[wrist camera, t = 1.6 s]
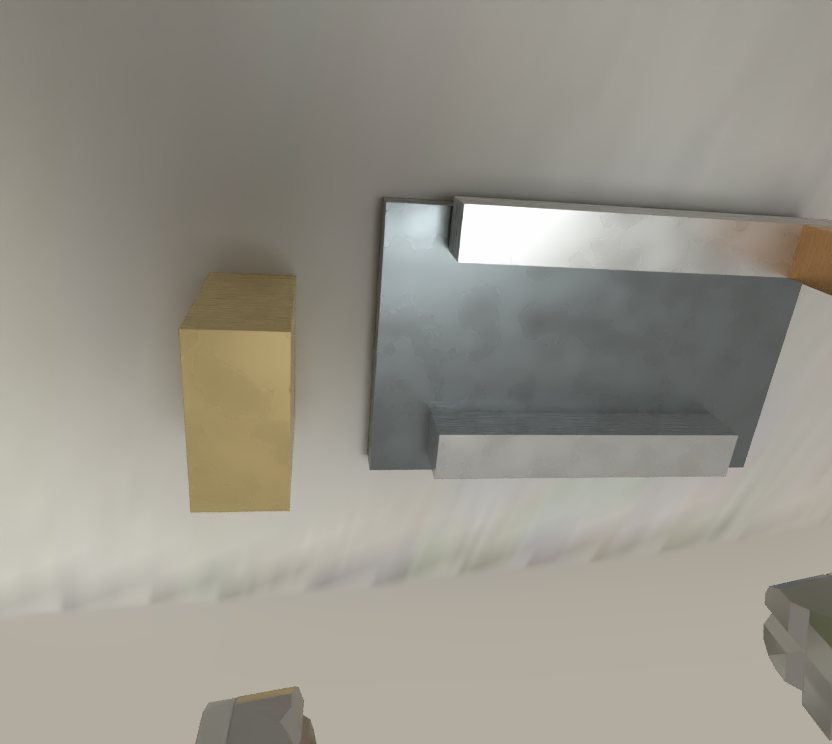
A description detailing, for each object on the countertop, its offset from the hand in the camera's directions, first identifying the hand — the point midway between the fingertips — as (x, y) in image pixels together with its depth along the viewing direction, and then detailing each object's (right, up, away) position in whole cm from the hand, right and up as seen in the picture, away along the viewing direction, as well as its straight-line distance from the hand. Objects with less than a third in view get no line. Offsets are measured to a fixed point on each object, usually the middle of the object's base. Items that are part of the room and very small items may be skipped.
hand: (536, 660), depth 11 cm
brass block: (-10, +6, +22) cm, 25 cm away
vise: (+7, +6, +24) cm, 26 cm away
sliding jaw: (+9, +12, +20) cm, 25 cm away
